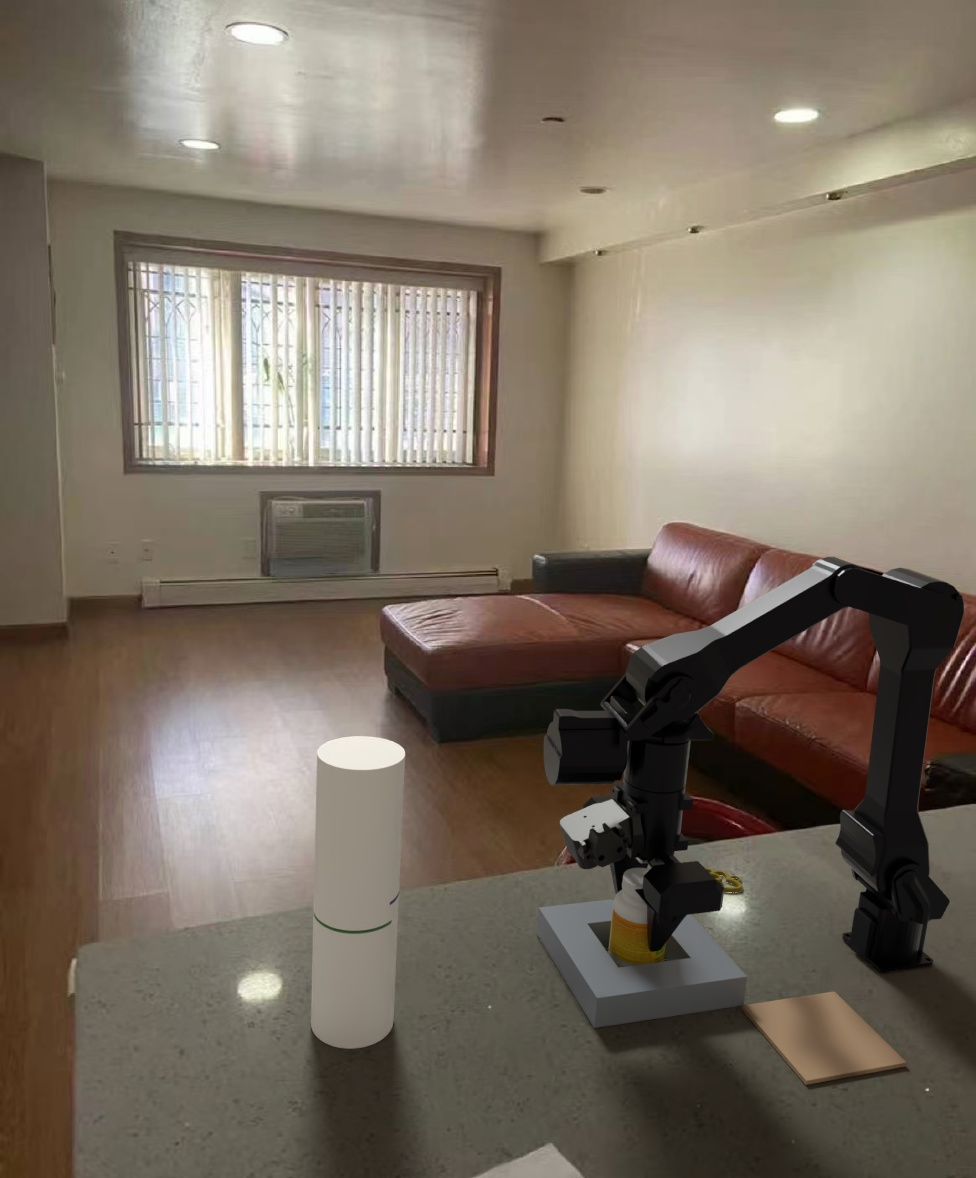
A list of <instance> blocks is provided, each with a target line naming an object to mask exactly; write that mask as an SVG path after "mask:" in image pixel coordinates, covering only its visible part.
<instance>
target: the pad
mask: <svg viewBox="0 0 976 1178" xmlns="http://www.w3.org/2000/svg"><path fill="white" fill-rule="evenodd" d="M741 1011H742V1012H743V1013H744V1014H745V1016H746V1017H747V1018H748V1019H749V1020H750V1021H751V1022H752V1024H753V1025H754V1026H755V1027H756V1029H758V1031H759V1032H760V1033H761V1034H762V1035H763V1036H764V1037H765V1039H766V1040H767V1042H769V1043H770V1045H771V1046H772V1047H773V1049H775V1051H776V1052H777V1053H778V1054H779V1055H780V1056H781V1058H782V1059H783V1060H784V1062H785V1063H786V1064H787V1065H788V1066H789V1067H790V1069H791V1070H792V1071H793V1072H794V1073H795V1074H796V1076H797V1077H798V1078H799V1079H800V1081H802V1082H803V1083H804V1085H805V1086H806V1085H813V1084H818V1083H822V1082H828V1081H834V1080H840V1079H845V1078H850V1077H856V1076H861V1075H868V1074H872V1073H877V1072H883V1071H887V1070H888V1071H889V1070H893V1069H899V1068H904V1067H906V1066H907V1061H906V1060H905V1059H904V1058H903V1057H902V1056H901V1055H900V1054H899V1053H898V1052H897V1051H896V1050H895V1049H894V1048H893V1047H891V1045H890V1044H888V1043H887V1041H886V1040H885V1039H883V1038H882V1037H881V1035H880V1034H879V1033H878V1032H876V1031H875V1030H874V1028H873V1027H872V1026H870V1025H869V1024H868V1023H867V1022H866V1021H865V1020H864V1019H863V1018H862V1017H861V1016H860V1015H859V1014H858V1013H857V1012H856V1011H855V1010H854V1009H853V1008H852V1006H850V1005H849V1004H848V1003H847V1002H846V1001H845V1000H844V999H843V998H842V997H841V996H839V994H838V993H837V992H836V991H828V992H821V993H816V994H808V995H801V996H795V997H788V998H783V999H776V1000H769V1001H768V1000H767V1001H763V1002H757V1003H756V1002H755V1003H748V1004H743V1005H741Z"/></svg>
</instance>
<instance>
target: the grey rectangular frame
mask: <svg viewBox="0 0 976 1178" xmlns="http://www.w3.org/2000/svg"><path fill="white" fill-rule="evenodd" d="M613 902H614V898H612V899H602V900H593V901H584V902H576V903H575V902H574V903H568V904H567V903H566V904H565V903H564V904H557V905H550V906H549V905H548V906H540V907H538V912H537V925H536V935H537V937H538V939H539V940H540V941H541V943H542V945H543V947H544V948H545V949H546V952H547V953H548V955H549V956H550V958H551V959H552V961H553V963H554V965H555V966H556V968H557V970H558V971H559V973H560V974H561V976H562V978H563V979H564V981H565V983H566V985H567V986H568V988H569V989H570V991H571V992H572V994H573V996H574V997H575V999H576V1001H577V1002H578V1004H579V1006H580V1007H581V1009H582V1011H583V1012H584V1014H585V1016H586V1017H587V1019H588V1021H589V1022H590V1024H591V1025H592V1027H593V1028H594V1029H598V1028H602V1027H610V1026H617V1025H623V1024H629V1023H636V1022H643V1021H649V1020H654V1019H655V1020H656V1019H662V1018H668V1017H674V1016H675V1017H676V1016H681V1015H682V1016H683V1015H688V1014H696V1013H700V1012H709V1011H713V1010H715V1011H716V1010H719V1009H727V1008H733V1007H739V1006H740V1007H742V1005H745V1004H744V1002H745V997H746V988H747V979H748V976H747V975H746V974H745V973H744V971H743V970H742V969H741V968H740V967H739V966H738V965H737V964H736V962H735V961H734V960H733V959H732V958H731V957H730V956H729V955H728V954H727V953H726V951H725V950H724V949H723V948H722V947H721V946H720V945H719V944H718V943H717V942H716V941H715V939H714V938H713V937H712V936H711V935H710V934H709V932H707V931H706V929H705V928H704V927H703V926H702V925H701V924H700V922H698V921H697V920H696V918H695V917H694V916H693V914H689V915H686V917H685V918H684V919H683V920H682V922H681V923H680V924H679V926H678V927H677V928H676V930H675V931H674V932H673V934H672V935H671V937H670V938H669V939H668V941H667V942H666V947H665V956H664V959H666V961H665V960H664V962H657V963H650V964H642V965H635V966H627V967H620V968H618V966H617V965H616V964H615V962H614V961H613V959H612V958H611V957H610V955H609V954H608V951H607V950H606V948H608V949H609V941H610V931H611V921H612V911H613Z"/></svg>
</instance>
